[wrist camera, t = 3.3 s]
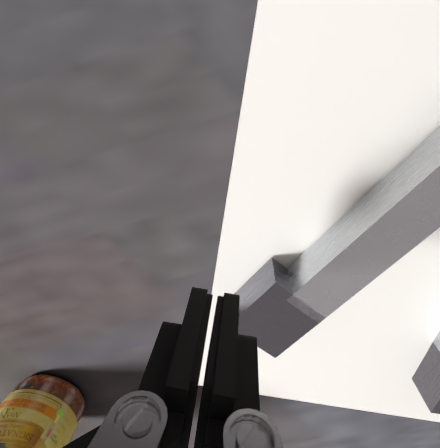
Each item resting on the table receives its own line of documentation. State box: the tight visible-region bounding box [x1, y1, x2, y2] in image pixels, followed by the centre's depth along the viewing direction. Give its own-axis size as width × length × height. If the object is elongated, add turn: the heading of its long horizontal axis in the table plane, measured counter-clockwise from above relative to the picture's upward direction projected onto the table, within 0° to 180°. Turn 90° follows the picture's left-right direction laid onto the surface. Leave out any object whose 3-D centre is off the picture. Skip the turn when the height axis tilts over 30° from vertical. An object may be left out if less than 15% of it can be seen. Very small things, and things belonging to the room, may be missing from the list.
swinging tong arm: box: [234, 126, 440, 358], centre depth 16 cm, size 18×4×2 cm, turn 142°
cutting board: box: [198, 0, 440, 422], centre depth 19 cm, size 28×21×2 cm
